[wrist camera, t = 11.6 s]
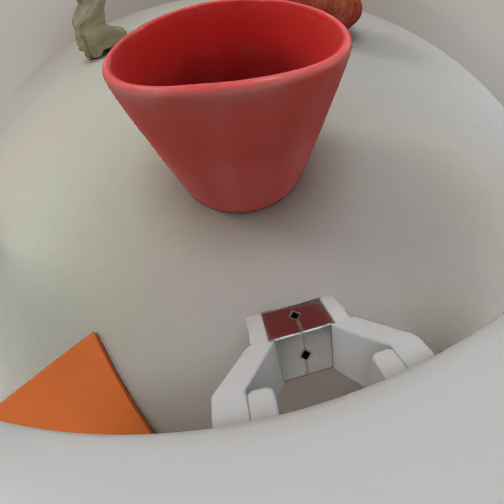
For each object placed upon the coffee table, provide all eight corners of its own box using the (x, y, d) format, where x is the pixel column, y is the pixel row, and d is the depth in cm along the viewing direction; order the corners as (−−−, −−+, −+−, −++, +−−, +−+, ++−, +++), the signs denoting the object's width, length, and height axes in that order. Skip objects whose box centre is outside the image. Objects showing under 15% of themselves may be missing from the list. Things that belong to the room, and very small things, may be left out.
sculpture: (134, 38, 30) (111, -39, 16) (97, 63, 28) (65, -19, 14) (114, 39, 31) (90, -30, 18) (80, 63, 29) (49, -9, 15)
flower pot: (159, 255, 15) (63, 129, 6) (164, 126, 20) (127, 20, 11) (345, 225, 15) (406, 80, 7) (298, 106, 20) (305, -6, 11)
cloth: (232, 523, 9) (231, 526, 9) (55, 556, 6) (53, 558, 5) (97, 332, 14) (93, 331, 13) (-24, 425, 10) (-28, 425, 10)
